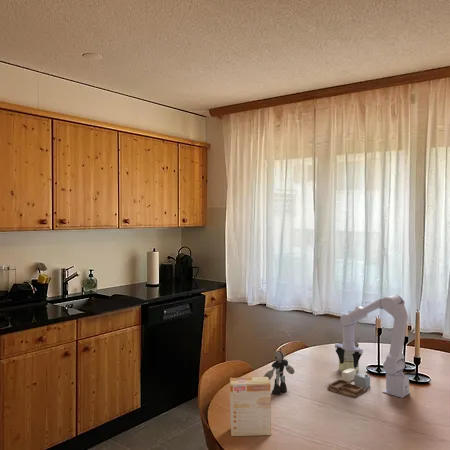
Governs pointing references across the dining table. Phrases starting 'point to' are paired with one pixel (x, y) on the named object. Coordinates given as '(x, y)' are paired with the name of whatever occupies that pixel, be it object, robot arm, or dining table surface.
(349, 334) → the robot arm
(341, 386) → the jig
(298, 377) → the dining table surface
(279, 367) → the robot
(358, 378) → the blue box with knob
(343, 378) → the cream rectangular block
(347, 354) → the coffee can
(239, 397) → the coffeecake box
